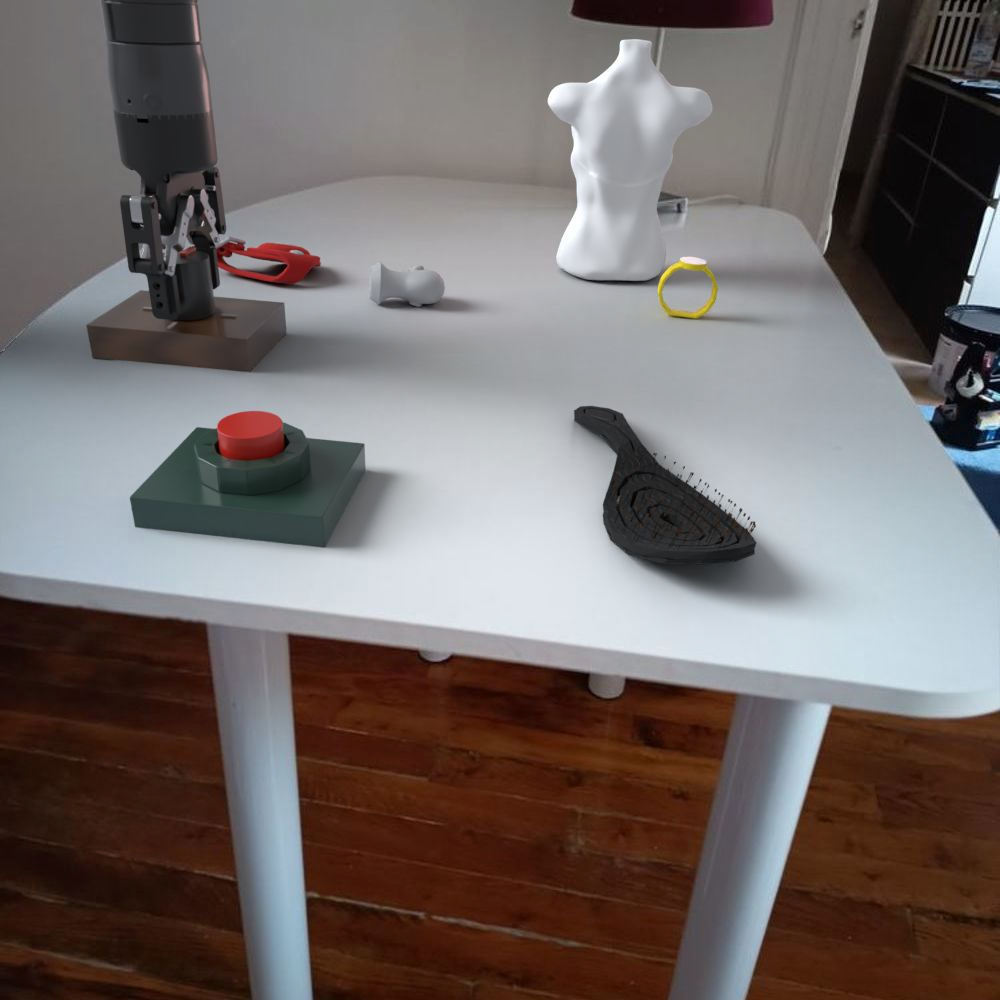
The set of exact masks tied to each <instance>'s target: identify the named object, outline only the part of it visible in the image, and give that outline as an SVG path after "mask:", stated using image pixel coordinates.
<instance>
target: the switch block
mask: <svg viewBox="0 0 1000 1000" xmlns="http://www.w3.org/2000/svg"><path fill="white" fill-rule="evenodd" d="M282 422H283V432H284V445H285V448H284V450H283V452H281V453H279V454H277V455H275V456H272V457H270V458H265V459H258V460H251V461H244V460H234V459H228V458H226V457H224V456H222V455H221V453H220V448H219V440H218V432H217V427H216V428H210V427H201V426H196V427H195V428H194V430H192V432H191V433H189V434H188V435H187V437H186V438H185V439H183V441H182V442H181V443H180V444H179V445H178V446H177V447H176V448H175V449H174V450H173V451H172V452H171V453H170V454H169V455H168V457H166V459H164V461H163V462H162V463H161V464H160V465H159V466H158V467H157V468H156V469H155V470H154V471H153V472H152V473H151V474H150V475H149V477H147V479H145V480H144V482H142V483H141V484H140V485H139V487H138V488H136V490H135V491H134V492H133V493H132V494H131V495H130V496H129V502H130V506H131V507H130V508H131V513H132V518H133V524H134V528H138V529H139V528H140V529H148V530H150V529H151V530H157V531H167V532H168V531H169V532H178V533H186V534H193V535H194V534H195V535H203V536H204V535H205V536H212V537H213V536H214V537H221V538H222V537H224V538H233V539H242V540H249V541H250V540H251V541H261V542H268V543H269V542H270V543H277V544H278V543H279V544H287V545H296V546H306V547H315V548H325V547H326V546H327V544H328V541H329V540H330V538H331V536H332V534H333V533H334V531H335V529H336V527H337V526H338V523H339V521H340V519H341V518H342V516H343V514H344V512H345V510H346V508H347V507H348V504H349V503H350V501H351V499H352V497H353V495H354V493H355V492H356V490H357V487H358V486H359V484H360V482H361V480H362V478H363V476H364V475H365V473H366V445H365V443H364V442H363V443H362V442H352V441H343V440H333V439H322V438H312V437H307V436H306V434H305V432H304V430H303V429H300V428H298V427H296V426H293V425H291V424H289V423H287V422H284V421H282Z"/></svg>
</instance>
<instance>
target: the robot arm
mask: <svg viewBox="0 0 1000 1000" xmlns="http://www.w3.org/2000/svg"><path fill="white" fill-rule="evenodd" d="M99 4H100V12H101V17H102V25H103V30H104V38H105V39H106V40H105V45H106V68H107V69H106V70H107V79H108V86H109V93H110V98H111V99H110V100H111V106H112V111H113V119H114V125H115V131H116V137H117V144H118V150H119V157H120V163H122V166H124V167H125V168H126V169H128V170H130V171H135V172H136V173H137V174H138V175H139V177H140V192H139V194H138V195H135V194H131V195H130V194H121V196H120V199H119V205H120V214H121V221H122V222H121V223H122V228H123V236H124V244H125V252H126V259H127V269H128V271H129V272H130V273H132V274H140V275H141V274H142V275H145V276H146V280H147V287H148V291H149V293H150V300H151V307H152V313H153V315H154V317H156V318H158V319H167V320H175V319H177V318H178V317H179V316H180V315H181V308H180V301H179V293H178V286H177V278H176V275H174V273H175V267H176V261H177V255H178V252H180V251H182V250H185V246H186V242H187V241H188V243H189V245H192V246H191V247H196V251H201V252H204V253H207V254H208V255H209V259H210V268H211V277H212V285H213V291H214V290H216V289H218V287H220V285H221V279H220V270H219V269H220V268H219V267H218V260H217V251H216V248H215V247H218V245H219V242H220V241H221V240H220V235H226V233H227V223H226V214H225V213H226V212H225V205H224V199H223V190H222V185H221V184H222V182H221V176H220V175H221V174H220V170H219V168H218V167H216V165H217V163H218V160H219V159H218V158H219V157H218V149H217V148H218V147H217V141H216V140H217V139H216V131H215V129H216V128H215V122H214V112H213V102H212V92H211V83H210V75H209V69H208V64H207V60H206V56H205V51H204V46H203V42H202V40H203V38H202V30H201V29H202V28H201V20H200V19H201V18H200V9H199V1H198V0H99ZM139 244H142V250H141V253H140V245H139ZM164 251H165V257H164V259H163V253H164Z"/></svg>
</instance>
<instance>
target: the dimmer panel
mask: <svg viewBox="0 0 1000 1000" xmlns="http://www.w3.org/2000/svg"><path fill="white" fill-rule="evenodd" d="M214 303H215V313H214V314H213V315H212V316H210V317H207V318H204V319H199V320H191V321H181V320H167V319H158V318H156V317H154V315H153V313H152V307H151V300H150V293H149V290H140V289H139V290H138V291H137V292H135V293H134V294H132V295H131V296H129V297H128V298H125V300H123V301H121V302H119V303H118V304H117V305H115V306H114V307H112V308H110V309H108V310H107V311H105V313H103V314H101V315H99V316H98V317H97V318H95V319H94V320H92V321H90V322H89V323H87V324H86V332H87V337H88V342H89V347H90V353H91V358H92V359H99V360H100V359H101V360H108V361H109V360H110V361H123V362H124V361H126V362H136V363H144V364H145V363H146V364H156V365H157V364H158V365H166V366H176V367H178V366H179V367H188V368H189V367H190V368H201V369H210V370H219V371H220V370H221V371H234V372H244V373H250V372H251V371H252V370H253V369H254V368H255V367H256V366H257V365H258V364H259V363H260V361H261V360H263V358H265V356H266V355H267V354H268V353H269V352H271V350H272V349H273V348H274V347H275V346H276V345H277V344H278V343H279V342H280V341H281V340H282V339H283V337H284V336H285V335H287V321H286V306H285V302H282V301H270V300H259V299H246V298H236V297H223V296H214Z"/></svg>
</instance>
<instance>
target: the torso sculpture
mask: <svg viewBox="0 0 1000 1000" xmlns="http://www.w3.org/2000/svg"><path fill="white" fill-rule="evenodd" d="M652 47H653V42H652V41H651V40H645V39H639V38H632V39H622V40H620V42H619V52H618V55H617V57H616V59H615V61H614V62H613V63H612V64H611V65H610V66H609V67H608V68H607V69H606V70H605V71H603V72H602V73H601V74H600V75H599V76H597V77H596V78H594V79H592V80H591V81H589V82H564V83H561V84H558V85H556V86H554V87H553V88H552V89H551V91H550V92H549V95H548V97H547V105H548V106H549V109H550V110H551V111H552V112H553V113H554V115H555V116H556V117H557V118H558V119H559V120H560V121H562V122H564V123H566V124H569V125H570V126H571V136H572V140H573V148H572V151H571V154H570V166H571V170H572V172H573V175H574V177H575V181H576V200H577V204H576V209H575V211H574V213H573V216H572V218H571V220H570V221H569V223H568V225H567V227H566V228H565V230H564V233H563V235H562V237H561V239H560V242H559V246H558V249H557V252H556V257H555V258H556V259H555V260H556V264H557V266H558V267H559V269H561V270H563V271H565V272H566V273H567V274H569V275H572V276H574V277H577V278H580V279H583V280H590V281H591V280H592V281H627V282H628V281H630V282H639V281H640V282H641V281H642V282H643V281H644V282H645V281H649V280H652V279H653V278H655V277H657V276H659V275H660V273H661V272H662V271H663V268H664V266H665V264H666V260H667V245H666V239H665V236H664V232H663V228H662V225H661V221H660V218H659V215H658V214H659V213H658V202H659V199H660V196H661V192H662V188H663V183H664V179H665V177H666V175H667V174H668V172H669V170H670V168H671V165H672V163H673V160H674V152H673V150H674V146H675V144H676V142H677V140H678V139H679V137H680V136H681V135H682V134H683V133H684V132H685V131H686V130H688V129H691V128H693V127H697V126H698V125H700V124H701V123H702V122H704V121H705V120H706V119H708V118H709V117H710V116H711V114H712V113H713V111H714V110H713V109H714V107H713V106H714V105H713V102H712V100H711V97H710V96H709V94H708V93H707V92H706V91H705V90H703V89H700V88H697V87H689V86H676V85H673V84H671V83H670V82H669V81H668V80H667V78H666V77H665V76H664V74H663V73H661V71H660V70H659V69H658V67H656V65H655V63H654V61H653V59H652Z"/></svg>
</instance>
